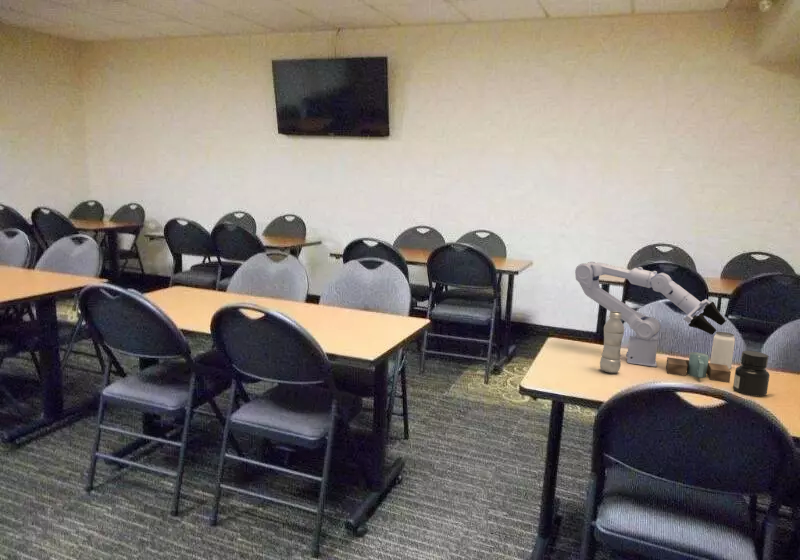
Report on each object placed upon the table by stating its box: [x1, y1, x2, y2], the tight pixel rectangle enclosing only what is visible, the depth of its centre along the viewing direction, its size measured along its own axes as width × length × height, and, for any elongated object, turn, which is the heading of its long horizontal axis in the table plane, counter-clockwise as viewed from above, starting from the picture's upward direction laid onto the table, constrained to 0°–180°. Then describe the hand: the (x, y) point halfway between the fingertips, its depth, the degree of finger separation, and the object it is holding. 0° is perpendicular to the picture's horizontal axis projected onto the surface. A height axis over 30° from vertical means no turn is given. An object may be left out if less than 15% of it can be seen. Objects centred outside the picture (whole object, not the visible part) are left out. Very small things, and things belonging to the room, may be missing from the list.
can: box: [709, 331, 736, 370], centre depth 198 cm, size 6×6×12 cm
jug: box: [686, 351, 710, 379], centre depth 185 cm, size 6×11×7 cm, turn 159°
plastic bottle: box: [599, 311, 625, 374], centre depth 185 cm, size 6×7×20 cm
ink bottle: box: [732, 350, 770, 397], centre depth 173 cm, size 10×9×12 cm
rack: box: [665, 357, 731, 383], centre depth 188 cm, size 18×8×4 cm, turn 69°
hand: (719, 327), depth 184 cm, fingers open, 7 cm apart
